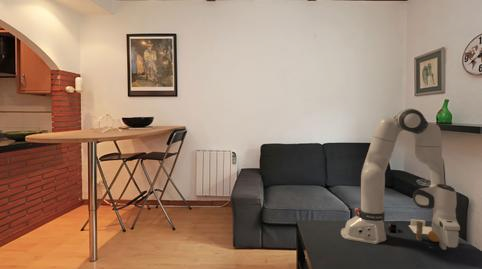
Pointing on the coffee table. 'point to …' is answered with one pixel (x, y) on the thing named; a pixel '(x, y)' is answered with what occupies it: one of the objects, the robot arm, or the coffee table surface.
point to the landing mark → (424, 229)
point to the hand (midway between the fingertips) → (442, 248)
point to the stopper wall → (414, 222)
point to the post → (419, 231)
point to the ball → (433, 236)
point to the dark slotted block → (392, 228)
